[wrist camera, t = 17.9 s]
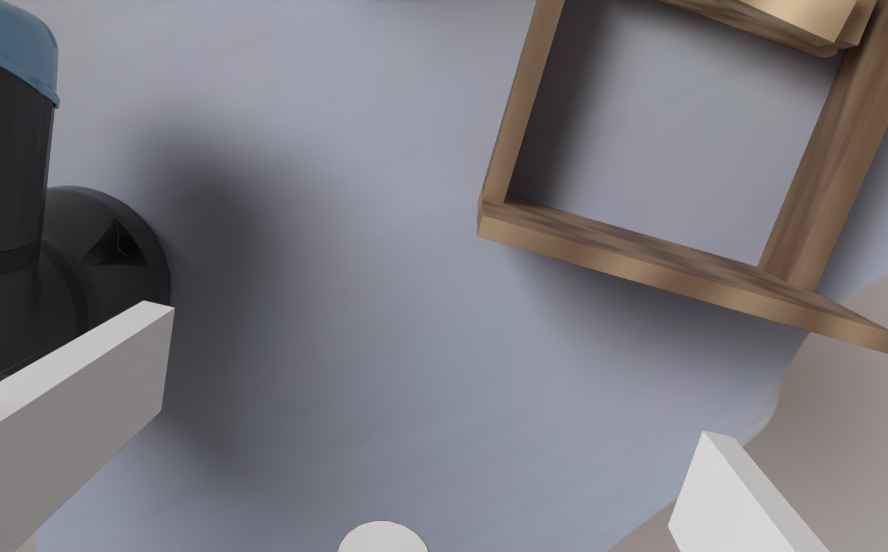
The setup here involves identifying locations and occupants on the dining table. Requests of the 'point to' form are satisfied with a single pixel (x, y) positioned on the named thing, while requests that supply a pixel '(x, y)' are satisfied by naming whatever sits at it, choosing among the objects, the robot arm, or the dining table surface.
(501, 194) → the wooden box
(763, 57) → the dining table surface
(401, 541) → the wineglass
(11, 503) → the robot arm
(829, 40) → the offcut stack
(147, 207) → the dining table surface
